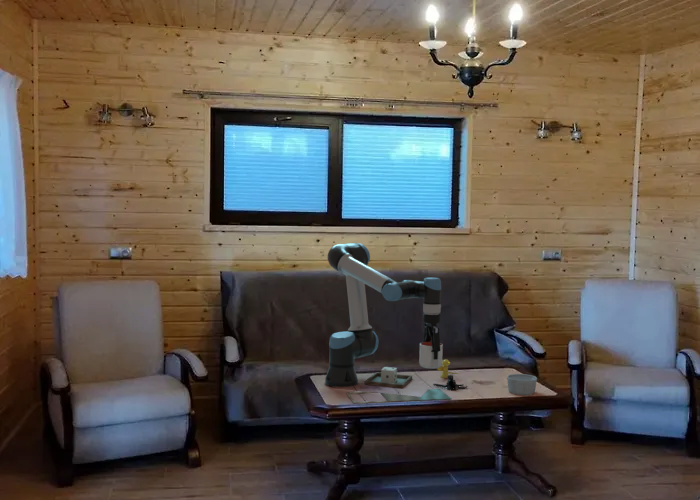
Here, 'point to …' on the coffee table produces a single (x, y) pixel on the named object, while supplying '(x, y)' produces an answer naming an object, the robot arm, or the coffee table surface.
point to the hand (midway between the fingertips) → (430, 363)
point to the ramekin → (521, 384)
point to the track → (428, 395)
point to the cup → (429, 355)
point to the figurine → (445, 369)
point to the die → (389, 375)
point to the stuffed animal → (451, 384)
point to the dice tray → (400, 383)
